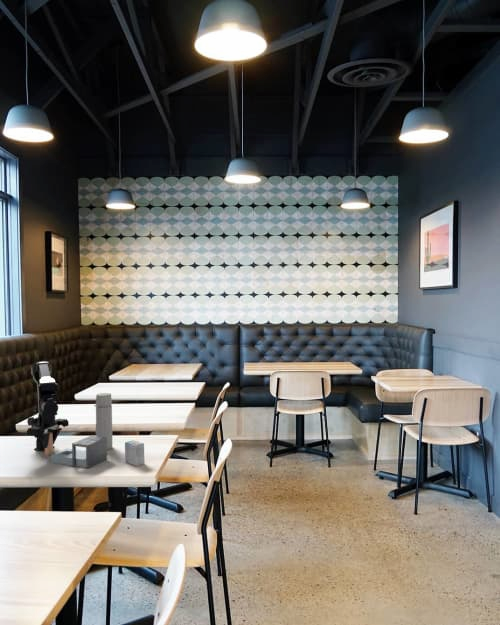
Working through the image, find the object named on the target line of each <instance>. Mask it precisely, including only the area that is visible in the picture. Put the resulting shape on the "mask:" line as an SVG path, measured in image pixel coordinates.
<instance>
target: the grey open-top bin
mask: <svg viewBox="0 0 500 625" xmlns="http://www.w3.org/2000/svg"><path fill="white" fill-rule="evenodd" d="M77 447H80V448H85V451H86V467H85V468H86V469H91V468H93V467H94V466H97V465H99V464H101V463H103V462H105V461H107V460H108V450H107V437H98V436H96V435H89V436H87V437H84V438H81V439H80V440H77V441H74V442H72V443H71V449H72V465H71V466H72V467H77V466H76V450H77Z"/></svg>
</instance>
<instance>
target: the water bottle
mask: <svg viewBox="0 0 500 625" xmlns="http://www.w3.org/2000/svg"><path fill="white" fill-rule="evenodd" d="M112 404H113V399H112V393H111V392H99V393H97V394H96V397H95V405H94V407H95V436H98V437H107V451H108V450H110V449H112V448H113V408H112V407H113V405H112Z"/></svg>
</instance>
